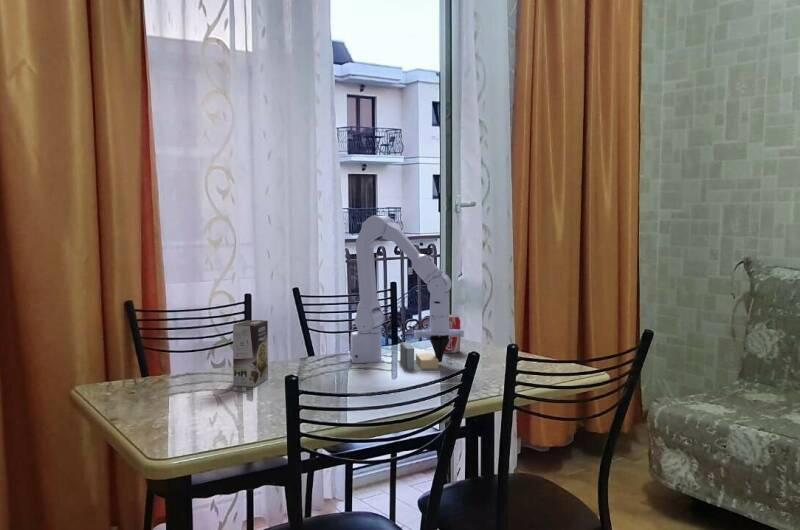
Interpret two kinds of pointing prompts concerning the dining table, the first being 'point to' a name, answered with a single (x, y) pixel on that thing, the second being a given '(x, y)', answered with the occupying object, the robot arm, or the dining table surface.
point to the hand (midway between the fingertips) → (438, 361)
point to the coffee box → (250, 353)
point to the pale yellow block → (427, 361)
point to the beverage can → (453, 341)
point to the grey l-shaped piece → (409, 362)
